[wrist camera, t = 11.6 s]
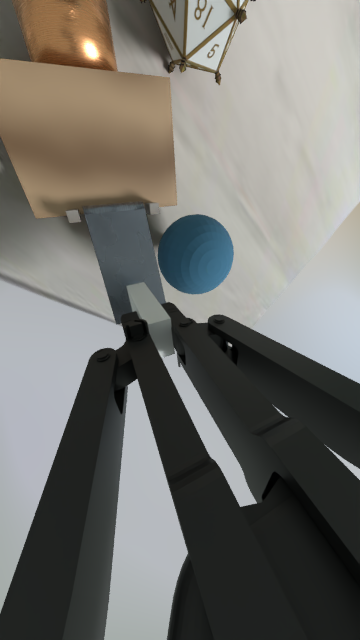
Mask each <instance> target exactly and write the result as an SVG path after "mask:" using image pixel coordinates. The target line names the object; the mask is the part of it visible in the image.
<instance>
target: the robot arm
mask: <svg viewBox="0 0 360 640" xmlns="http://www.w3.org/2000/svg"><path fill="white" fill-rule="evenodd" d="M126 287H127V291H128V295H129V299H130V303H131V308H132V312H130V313H126V314H122V316H121V318H120V319H121V323H122V326H123V330H124V333H125V337H126V342H125V343H124V345H123V346H122V347H120V348H119V349H117V350H114V349H112V348H104V349H100V350H98V351H97V352H95V353H94V354H93V355H92V356H91V357H90V359H89V362H88V365H87V367H86V370H85V373H84V376H83V379H82V382H81V385H80V388H79V390H78V393H77V396H76V399H75V402H74V405H73V408H72V410H71V413H70V416H69V419H68V422H67V425H66V428H65V430H64V433H63V436H62V439H61V442H60V445H59V448H58V450H57V454H56V456H55V459H54V462H53V465H52V468H51V470H50V473H49V476H48V479H47V482H46V485H45V487H44V490H43V493H42V496H41V499H40V502H39V505H38V508H37V510H36V513H35V516H34V519H33V522H32V524H31V527H30V531H29V533H28V536H27V539H26V542H25V544H24V547H23V550H22V553H21V556H20V559H19V562H18V564H17V567H16V570H15V573H14V576H13V579H12V582H11V584H10V587H9V590H8V593H7V596H6V599H5V602H4V605H3V608H2V610H1V613H0V640H104V635H105V627H106V619H107V610H108V602H109V592H110V581H111V570H112V558H113V547H114V535H115V525H116V514H117V502H118V491H119V480H120V469H121V458H122V447H123V436H124V424H125V413H126V402H127V390H128V387H127V385H129V384H130V383H132V382H133V381H135V380H136V379H138V382H139V385H140V389H141V392H142V396H143V399H144V402H145V406H146V409H147V413H148V416H149V420H150V423H151V426H152V430H153V434H154V437H155V440H156V444H157V447H158V451H159V454H160V458H161V461H162V464H163V468H164V471H165V474H166V478H167V482H168V485H169V488H170V492H171V495H172V499H173V502H174V506H175V509H176V512H177V516H178V519H179V523H180V526H181V530H182V533H183V536H184V540H185V544H186V547H187V550H188V555H187V557H186V559H185V561H184V563H183V566H182V568H181V571H180V574H179V577H178V580H177V585H176V588H175V593H174V597H173V603H172V609H171V616H170V622H169V629H168V636H167V640H360V480H359V479H358V478H357V477H356V476H355V475H354V474H353V473H352V472H351V471H350V470H349V469H348V468H347V467H346V466H345V465H344V464H343V463H342V462H341V461H340V460H339V459H338V458H337V457H336V456H335V455H334V454H333V453H332V452H331V451H330V450H329V449H328V448H327V447H329V448H330V449H331V450H332V451H334V452H336V453H337V454H338V455H340V456H341V457H342V458H344V459H345V460H347V461H348V462H350V463H352V464H353V465H354V466H356V467H358V468H359V469H360V384H359V383H357V382H355V381H353V380H351V379H349V378H347V377H345V376H343V375H341V374H339V373H337V372H335V371H333V370H331V369H329V368H327V367H325V366H323V365H321V364H319V363H317V362H316V361H313V360H312V359H310V358H307V357H306V356H304V355H302V354H300V353H297V352H296V351H294V350H292V349H290V348H288V347H286V346H284V345H282V344H280V343H278V342H276V341H274V340H272V339H270V338H268V337H266V336H264V335H262V334H260V333H258V332H256V331H254V330H252V329H250V328H248V327H246V326H244V325H242V324H240V323H238V322H237V321H235V320H233V319H231V318H229V317H227V316H224V315H213V316H211V317H209V319H208V323H196V322H195V321H194V320H193V319H190V318H186V317H185V316H184V315H183V314H182V313H181V312H180V311H179V309H178V308H177V307H176V306H175V305H174V304H172V303H170V302H168V303H164V304H160V303H159V302H158V300H157V299H156V298H155V296H154V295H153V294H152V292H151V291H150V290H149V288H148V287H147V286H146V284H145V283H144V282H142V283H137V284H133V285H128V286H126ZM228 342H229V343H231V344H232V347H230V346H228ZM174 348H175V349H176V351H177V358H178V366H179V367H180V363H181V365H182V366H183V368H184V370H185V371H186V373H187V375H188V377H189V378H190V380H191V382H192V383H193V385H194V387H195V388H196V390H197V392H198V394H199V395H200V397H201V399H202V400H203V402H204V404H205V406H206V407H207V409H208V410H209V412H210V414H211V416H212V417H213V419H214V421H215V423H216V424H217V426H218V428H219V429H220V431H221V433H222V435H223V436H224V438H225V440H226V441H227V443H228V445H229V447H230V448H231V450H232V452H233V453H234V455H235V457H236V458H237V460H238V462H239V464H240V466H241V467H242V470H243V472H244V475H245V479H246V482H247V484H248V487H249V489H250V491H251V493H252V495H253V496H254V498H255V500H256V502H257V504H252V505H248V506H243V507H240V506H239V504H238V502H237V500H236V498H235V496H234V494H233V492H232V490H231V489H230V486H229V484H228V482H227V480H226V478H225V476H224V474H223V473H222V471H221V469H220V467H219V466H218V464H217V463H216V462H215V461H214V460H213V459H212V458H211V457H210V456H209V454H208V452H207V450H206V448H205V446H204V444H203V442H202V440H201V438H200V436H199V434H198V432H197V430H196V428H195V426H194V424H193V422H192V420H191V417H190V415H189V413H188V411H187V409H186V408H185V405H184V403H183V401H182V399H181V397H180V395H179V393H178V391H177V389H176V387H175V385H174V383H173V381H172V379H171V377H170V375H169V373H168V370H167V368H166V366H165V364H164V363H163V360H162V358H163V357H166V356H169V355H172V354H175V351H174ZM273 405H274V406H275V407H276V408H278V409H279V410H280V411H282V412H283V413H284V414H285V415H287V416H288V417H285V416H283V415H282V414H280V413H279V412H278V411H277V409H276V408H275V407H274V406H273ZM324 444H325V445H326V446H327V447H326V446H325V445H324Z"/></svg>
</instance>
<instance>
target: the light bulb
mask: <svg viewBox="0 0 360 640" xmlns="http://www.w3.org/2000/svg"><path fill="white" fill-rule="evenodd" d="M233 255H234V252H233V244H232V241H231V238H230V236H229V234H228V232H227V230H226V229H225V228H224V227H223V226H222V225H221V224H220V223H219V222H218V221H217V220H215V219H213V218H210V217H208V216H205V215H199V214H197V215H188V216H185V217H182V218H180V219H178V220H177V221H175V222H174V223H173V224H171V225H170V226H169V227H168V228H167V230H166V231H165V233H164V234H163V236H162V238H161V240H160V243H159V248H158V263H159V267H160V270H161V273H162V274H163V276H164V278H165V279H166V281H167V282H168V283H169V284H170V285H171V286H173V287H174V288H176V289H177V290H179V291H181V292H184V293H188V294H202V293H206V292H209V291H211V290H213V289H214V288H216V287H217V286H218V285H219V284H221V283H222V282H223V280H224V279H225V278H226V277H227V275H228V273H229V271H230V269H231V266H232V262H233Z"/></svg>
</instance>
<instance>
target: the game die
mask: <svg viewBox="0 0 360 640" xmlns="http://www.w3.org/2000/svg"><path fill="white" fill-rule="evenodd" d="M140 1H141V3H142V2H144V3H145V1H146V0H140ZM251 1H252V0H251ZM253 1H256V0H253ZM149 3H150V5H151V8H152V11H153V13H154V16H155V18H156V21H157V23H158V26H159V29H160V31H161V34H162V36H163V39H164V41H165V44H166V46H167V49H168V52H169V54H170V57H171V59H172V61H171V62H170V65H168V66H169V73H171V72H173V69H174V68H175V64H177V65H180V67H179V69H180V71H181V73H182V72H184V71H185V70H186V67H190V68H194V69H199V70H203V71H207V72H212V73H215V79H216V82H217V83H218V84H219V85H220V81H221V76H220V75H221V74H220V73H219V68H220V66H221V64H222V61H223V59H224V57H225V54H226V52H227V50H228V47H229V45H230V43H231V40H232V38H233V36H234V33H235V31H236V29H237V26H238V24H239V22H240V24H241V23H242V22H243V21H244V20H245V19H247V17H246V11H245V8H246V5H247V3H248V0H149Z"/></svg>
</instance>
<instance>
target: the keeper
mask: <svg viewBox="0 0 360 640" xmlns="http://www.w3.org/2000/svg"><path fill="white" fill-rule="evenodd" d="M82 208H83V211H84V215H85V218H86V222H87V225H88V228H89V232H90V235H91V239H92V242H93V246H94V249H95V252H96V256H97V259H98V263H99V266H100V270H101V273H102V276H103V280H104V283H105V287H106V290H107V294H108V297H109V300H110V304H111V307H112V311H113V314H114V318H115V321H116V324H120V323H121V319H120V318H121V316H122V314H126V313H130V312H132V308H131V303H130V299H129V295H128V291H127V287H126V286H128V285H133V284H137V283H142V282H144V283H145V284H146V286H147V287H148V288H149V290H150V291H151V292H152V294H153V295H154V296H155V298H156V299H157V300H158V302H159V303H160V304H164V303H166V301H165V297H164V292H163V288H162V283H161V279H160V275H159V270H158V266H157V261H156V257H155V252H154V248H153V243H152V239H151V235H150V230H149V226H148V221H147V217H146V212H145V208H144V204H143V202H142V201H137V202H124V203H112V204H100V205H88V206H82Z"/></svg>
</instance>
